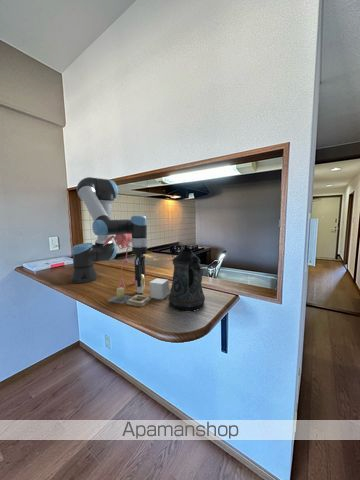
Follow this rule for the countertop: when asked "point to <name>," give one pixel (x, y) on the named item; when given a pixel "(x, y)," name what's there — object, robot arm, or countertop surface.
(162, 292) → the white block
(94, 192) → the robot arm
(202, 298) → the beer stein
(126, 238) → the pink flower stem
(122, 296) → the peg plate
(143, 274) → the pin
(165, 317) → the countertop surface
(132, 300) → the socket board
